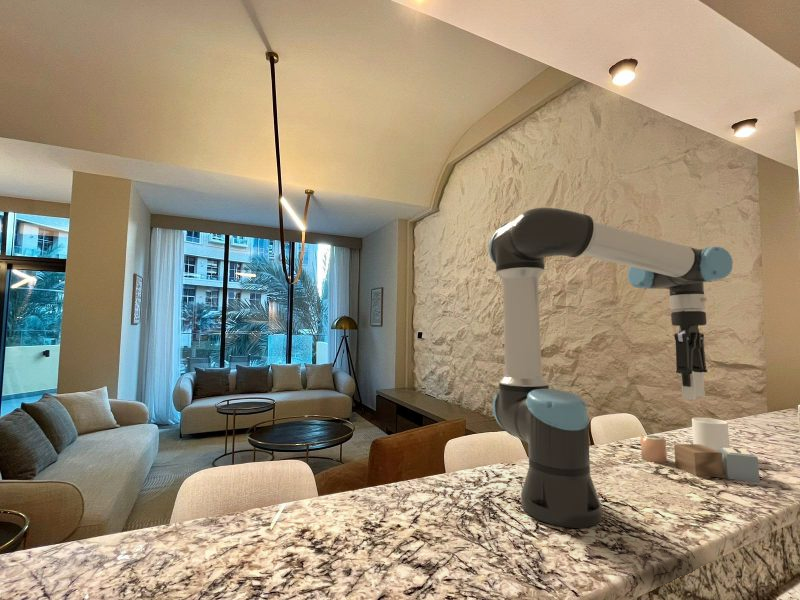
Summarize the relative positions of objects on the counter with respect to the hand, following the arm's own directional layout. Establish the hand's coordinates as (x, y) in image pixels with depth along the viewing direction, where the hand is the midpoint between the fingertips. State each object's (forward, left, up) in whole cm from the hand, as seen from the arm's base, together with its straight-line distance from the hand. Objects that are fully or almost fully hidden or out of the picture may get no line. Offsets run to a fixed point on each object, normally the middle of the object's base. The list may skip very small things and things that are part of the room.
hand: (693, 397), depth 100 cm
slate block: (+8, -2, -19) cm, 21 cm away
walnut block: (0, 0, -19) cm, 19 cm away
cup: (+13, +16, -19) cm, 28 cm away
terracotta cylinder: (-7, +8, -19) cm, 22 cm away
